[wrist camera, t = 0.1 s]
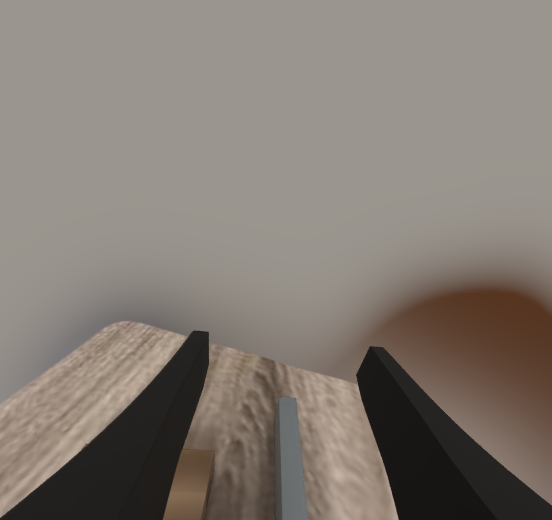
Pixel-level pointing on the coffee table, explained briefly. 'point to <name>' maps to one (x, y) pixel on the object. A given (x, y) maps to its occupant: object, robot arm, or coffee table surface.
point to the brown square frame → (190, 486)
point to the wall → (288, 464)
